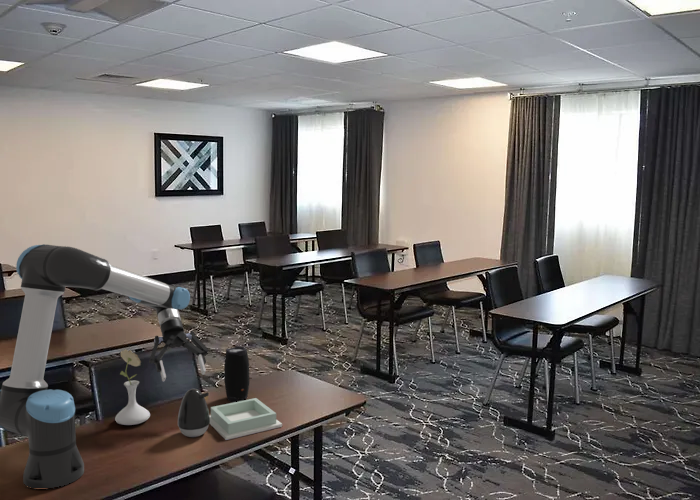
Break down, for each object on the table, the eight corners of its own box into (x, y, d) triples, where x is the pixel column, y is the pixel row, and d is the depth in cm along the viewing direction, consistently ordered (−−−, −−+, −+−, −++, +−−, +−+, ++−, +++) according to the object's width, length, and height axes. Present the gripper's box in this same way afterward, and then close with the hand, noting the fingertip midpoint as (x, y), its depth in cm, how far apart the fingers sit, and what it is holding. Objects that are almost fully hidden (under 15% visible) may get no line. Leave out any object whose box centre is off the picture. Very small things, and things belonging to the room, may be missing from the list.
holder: (225, 440, 186) (225, 426, 186) (205, 419, 203) (205, 406, 202) (282, 426, 197) (282, 413, 196) (258, 407, 214) (258, 395, 213)
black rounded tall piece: (202, 442, 185) (201, 395, 183) (172, 439, 187) (171, 393, 185) (215, 429, 195) (215, 385, 193) (187, 426, 197) (186, 382, 195)
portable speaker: (250, 401, 220) (249, 351, 218) (225, 403, 218) (224, 352, 215) (248, 393, 228) (247, 344, 226) (224, 395, 226) (223, 346, 224)
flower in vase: (156, 421, 200) (153, 351, 198) (123, 431, 192) (120, 357, 190) (139, 411, 210) (136, 343, 207) (107, 420, 202) (104, 349, 199)
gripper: (202, 325, 218) (217, 375, 207) (133, 334, 204) (145, 387, 193) (206, 314, 213) (222, 364, 202) (136, 322, 199) (148, 376, 188)
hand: (184, 376), depth 198 cm, fingers open, 13 cm apart
